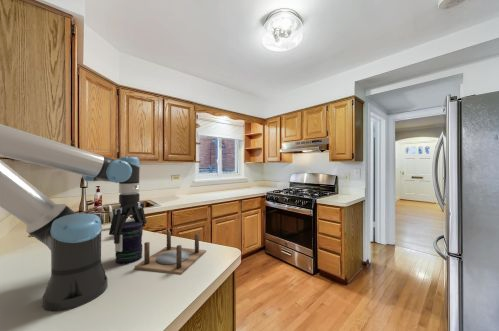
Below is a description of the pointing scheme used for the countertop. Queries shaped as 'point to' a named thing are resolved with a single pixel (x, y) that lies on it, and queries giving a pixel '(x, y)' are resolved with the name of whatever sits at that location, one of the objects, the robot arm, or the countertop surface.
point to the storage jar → (130, 243)
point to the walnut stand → (170, 257)
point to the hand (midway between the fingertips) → (129, 246)
